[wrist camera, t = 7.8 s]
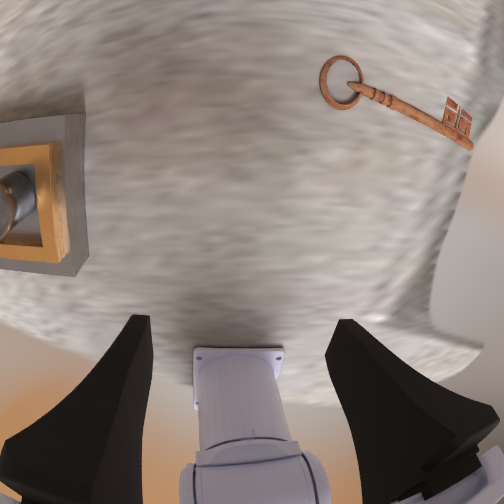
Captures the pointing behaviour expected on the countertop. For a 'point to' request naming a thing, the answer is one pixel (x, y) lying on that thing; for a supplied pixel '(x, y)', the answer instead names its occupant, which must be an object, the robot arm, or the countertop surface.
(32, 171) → the chuck block
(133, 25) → the countertop surface
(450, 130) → the key
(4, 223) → the peg
